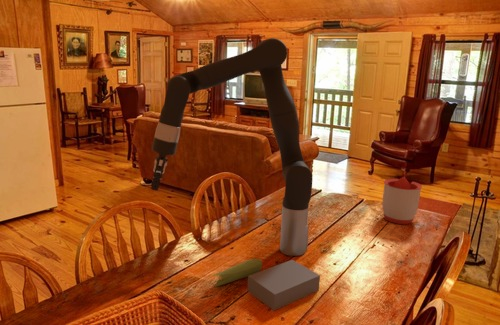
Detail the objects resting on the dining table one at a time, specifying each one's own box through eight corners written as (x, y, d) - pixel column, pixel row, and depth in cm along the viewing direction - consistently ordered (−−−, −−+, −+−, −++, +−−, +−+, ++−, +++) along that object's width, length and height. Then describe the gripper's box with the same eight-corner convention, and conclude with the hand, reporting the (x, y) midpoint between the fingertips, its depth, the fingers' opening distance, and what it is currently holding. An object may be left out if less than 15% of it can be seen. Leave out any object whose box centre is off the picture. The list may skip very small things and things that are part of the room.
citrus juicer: (420, 217, 186) (426, 175, 181) (412, 229, 171) (419, 184, 166) (385, 210, 194) (390, 169, 189) (375, 221, 179) (380, 177, 174)
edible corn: (267, 261, 131) (259, 252, 134) (215, 281, 119) (207, 271, 122) (264, 273, 133) (256, 264, 136) (212, 294, 121) (205, 283, 124)
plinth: (291, 273, 132) (292, 259, 130) (318, 290, 123) (320, 275, 121) (247, 291, 121) (248, 275, 120) (273, 310, 112) (274, 294, 111)
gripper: (178, 144, 123) (165, 195, 125) (178, 137, 136) (167, 183, 139) (153, 138, 121) (141, 189, 124) (156, 132, 135) (145, 178, 137)
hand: (155, 186), depth 131 cm, fingers open, 8 cm apart
